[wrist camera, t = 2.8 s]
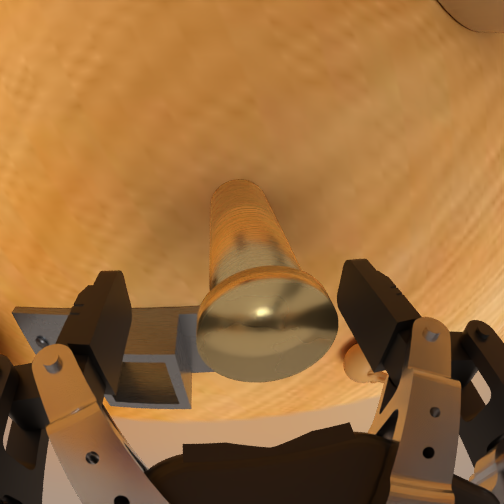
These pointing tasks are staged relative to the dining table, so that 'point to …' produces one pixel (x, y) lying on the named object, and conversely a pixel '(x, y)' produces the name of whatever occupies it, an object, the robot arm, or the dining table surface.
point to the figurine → (360, 367)
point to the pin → (258, 295)
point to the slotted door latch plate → (137, 353)
